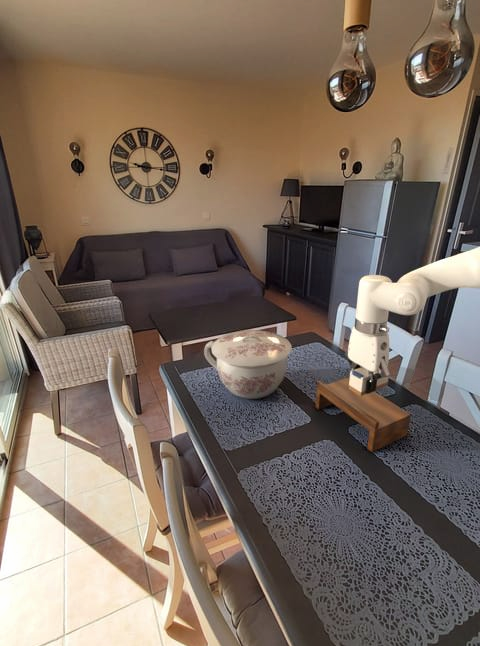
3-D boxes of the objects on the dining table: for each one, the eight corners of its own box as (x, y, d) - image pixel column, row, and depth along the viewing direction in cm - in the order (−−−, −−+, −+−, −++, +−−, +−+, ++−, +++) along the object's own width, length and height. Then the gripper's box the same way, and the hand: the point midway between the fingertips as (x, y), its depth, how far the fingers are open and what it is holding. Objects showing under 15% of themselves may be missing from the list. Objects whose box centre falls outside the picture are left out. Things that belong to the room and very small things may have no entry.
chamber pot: (306, 393, 125) (309, 339, 117) (239, 420, 112) (237, 362, 104) (260, 361, 147) (260, 314, 139) (200, 381, 134) (196, 330, 126)
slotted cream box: (374, 378, 102) (377, 360, 100) (387, 385, 99) (390, 367, 97) (348, 388, 98) (350, 370, 96) (360, 396, 95) (363, 377, 92)
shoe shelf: (347, 395, 124) (350, 370, 120) (407, 435, 104) (412, 407, 100) (315, 407, 118) (317, 381, 114) (371, 452, 98) (376, 423, 94)
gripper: (409, 333, 85) (398, 398, 92) (356, 312, 99) (350, 370, 106) (387, 340, 82) (377, 407, 89) (335, 317, 95) (330, 377, 103)
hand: (363, 386), depth 97 cm, fingers closed on slotted cream box, 4 cm apart
